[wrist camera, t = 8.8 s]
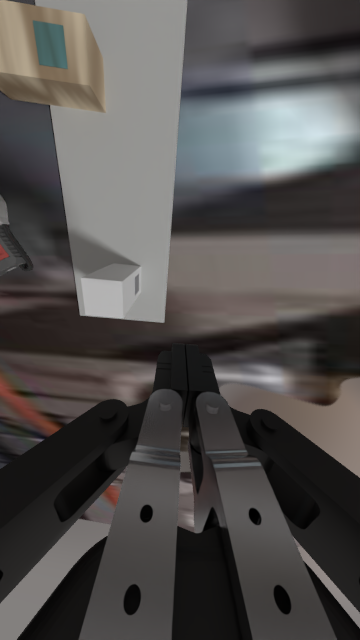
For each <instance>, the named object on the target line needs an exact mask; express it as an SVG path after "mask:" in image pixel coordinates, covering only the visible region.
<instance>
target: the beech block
mask: <svg viewBox="0 0 360 640" xmlns="http://www.w3.org/2000/svg"><path fill="white" fill-rule="evenodd" d="M0 91H2V92H3V93H4V94H5V95H7V96H8V97H9V98H10V99H12V100H19V101H26V102H33V103H40V104H47V105H54V106H61V107H68V108H75V109H82V110H89V111H96V112H102V113H106V104H105V84H104V65H103V57H102V54H101V52H100V49H99V47H98V45H97V42H96V40H95V38H94V35H93V33H92V31H91V28H90V26H89V23H88V21H87V19H86V16H85V14H82V13H76V12H70V11H64V10H58V9H52V8H47V7H41V6H35V5H29V4H23V3H17V2H11V1H6V0H0Z"/></svg>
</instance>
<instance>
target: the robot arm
mask: <svg viewBox="0 0 360 640" xmlns="http://www.w3.org/2000/svg"><path fill="white" fill-rule="evenodd" d="M182 422H183V427H189V439H188V452H189V460H190V468H191V477H192V485H193V493H194V526H195V533H193V532H191V531H188V530H186V529H183V528H181V527H179V526H177V521H178V502H179V482H180V438H181V427H182ZM126 466H127V470H126V473H125V477H124V480H123V484H122V488H121V491H120V495H119V498H118V502H117V505H116V509H115V512H114V516H113V520H112V523H111V527H110V531H109V534H108V536H106V537H105V538H103V539H102V540H100V541H99V542H98V543H96V544H95V545H94V546H93V547H92V548H90V549H89V550H88V551H87V552H86V553H85V554H84V555H83V556H82V557H81V558H80V559H79V560H78V561H77V563H76V564H75V565H74V566H73V567H72V568H71V570H70V571H69V572H68V574H67V575H66V576H65V577H64V579H63V580H62V581H61V583H60V584H59V585H58V586H57V588H56V589H55V590H54V592H53V593H52V594H51V596H50V597H49V598H48V599H47V601H46V602H45V603H44V605H43V606H42V608H41V609H40V610H39V611H38V613H37V614H36V615H35V616H34V618H33V619H32V620H31V622H30V623H29V624H28V626H27V627H26V628H25V629H24V631H23V632H22V634H21V635H20V636H19V637H18V639H17V640H360V628H359V627H358V626H357V625H356V623H355V622H354V621H353V620H352V619H351V617H350V616H349V615H348V614H347V612H346V611H345V610H344V609H343V608H342V606H341V605H340V604H339V602H338V601H337V600H336V599H335V598H334V596H333V595H332V594H331V593H330V591H329V590H328V589H327V588H326V587H325V585H324V584H323V583H322V582H321V580H320V579H319V578H318V577H317V575H316V574H315V573H314V572H313V571H312V569H311V568H310V567H309V566H308V565H307V564H306V563H305V562H304V561H303V559H302V557H301V555H300V552H299V550H298V548H297V545H296V543H295V541H294V538H295V539H296V540H297V541H298V543H299V544H300V545H301V546H302V547H303V548H304V549H305V551H306V552H307V553H308V554H309V555H310V556H311V557H312V559H313V560H314V561H315V562H316V563H317V564H318V565H319V566H320V568H321V569H322V570H323V571H324V572H325V573H326V575H327V576H328V577H329V578H330V579H331V580H332V581H333V583H334V584H335V585H336V586H337V587H338V588H339V589H340V590H341V592H342V593H343V594H344V595H345V596H346V597H347V598H348V600H349V601H350V602H351V603H352V604H353V605H354V607H356V609H357V610H358V611H359V612H360V478H359V477H358V476H357V475H355V474H354V473H353V472H351V471H350V470H348V469H347V468H346V467H345V466H343V465H342V464H341V463H339V462H338V461H337V460H335V459H334V458H333V457H331V456H330V455H329V454H327V453H326V452H325V451H323V450H322V449H321V448H320V447H318V446H317V445H315V444H314V443H313V442H311V441H310V440H309V439H308V438H306V437H305V436H304V435H302V434H301V433H300V432H298V431H297V430H296V429H294V428H293V427H292V426H290V425H289V424H288V423H286V422H285V421H284V420H282V419H281V418H280V417H278V416H277V415H276V414H274V413H272V412H270V411H268V410H264V409H257V410H255V411H253V412H252V413H251V415H249V414H246V413H243V412H240V411H237V410H235V409H233V408H231V407H230V406H229V405H228V403H227V401H226V400H225V399H224V398H223V397H222V396H221V395H220V392H219V388H218V384H217V380H216V377H215V373H214V369H213V366H212V362H211V359H210V358H209V357H208V356H207V355H206V354H199V349H198V345H191V344H178V343H172V351H162V352H161V353H160V355H159V356H158V361H157V368H156V374H155V380H154V387H153V392H152V394H151V396H150V397H149V398H148V399H147V400H146V401H144V402H142V403H140V404H137V405H133V406H128V407H127V406H126V404H125V403H124V402H122V401H120V400H116V399H110V400H106V401H103V402H101V403H99V404H97V405H96V406H94V407H93V408H91V409H90V410H88V411H87V412H85V413H84V414H82V415H81V416H79V417H78V418H76V419H75V420H73V421H72V422H70V423H69V424H67V425H66V426H64V427H63V428H61V429H60V430H58V431H57V432H55V433H54V434H52V435H51V436H49V437H48V438H46V439H45V440H43V441H42V442H40V443H39V444H37V445H36V446H34V447H33V448H31V449H30V450H28V451H27V452H25V453H24V454H22V455H21V456H19V457H18V458H16V459H15V460H13V461H12V462H10V463H9V464H7V465H6V466H4V467H3V468H1V469H0V603H1V602H2V601H3V600H4V598H5V597H6V596H7V595H8V594H9V593H10V592H11V591H12V590H13V589H14V588H15V587H16V585H18V583H19V582H20V581H21V580H22V579H23V578H24V577H25V576H26V575H27V574H28V573H29V571H30V570H31V569H32V568H33V567H34V566H35V565H36V564H37V563H38V562H39V561H40V560H41V559H42V558H43V556H44V555H45V554H46V553H47V552H48V551H49V550H50V549H51V548H52V547H53V546H54V545H55V544H56V542H57V541H58V540H59V539H60V538H61V537H62V536H63V535H64V534H65V533H66V532H67V531H68V530H69V528H70V527H71V526H72V525H73V524H74V523H75V522H76V521H77V520H78V519H79V518H80V517H81V516H82V514H83V513H84V512H85V511H86V510H87V509H88V508H89V507H90V506H91V505H92V504H93V503H94V501H95V500H96V499H97V498H98V497H99V496H100V495H101V494H102V493H103V492H104V491H105V490H106V489H107V487H108V486H109V485H110V484H111V483H112V482H113V481H114V480H115V479H116V478H117V477H118V476H119V475H120V473H121V472H122V471H123V470H124V469H125V467H126ZM293 537H294V538H293Z"/></svg>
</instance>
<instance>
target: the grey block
mask: <svg viewBox="0 0 360 640" xmlns="http://www.w3.org/2000/svg"><path fill="white" fill-rule="evenodd" d="M81 284H82V292H83V300H84V308H85V315H90V316H102V317H113V318H124V317H125V315H126V314H127V312H128V311H129V309H130V308H131V306H132V305H133V303H134V302H135V300H136V299H137V297H138V296H139V294H140V293H141V266H136V265H126V264H116V263H113V264H111V265H109V266H106V267H104V268H102V269H99V270H97V271H95V272H92V273H90V274H88V275H85V276H83V277H81Z"/></svg>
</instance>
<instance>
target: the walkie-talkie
mask: <svg viewBox="0 0 360 640" xmlns="http://www.w3.org/2000/svg"><path fill="white" fill-rule="evenodd" d="M8 224H10V223H9V222H8V214H7V206H6V202H5V201H4V199H3V198H2V196H1V195H0V276H2V275H4V274H6V273H8V272H10V271H12V270H14V269H16V268H18V267H20V268H21V269H22V270H25V271H29V270H32V269H33V264H32V262H31V260H30V259H29V256H27V254H26V252H24V249H23V248H22V247H21V245H19V243H18V241H16V239H15V237H14V236H13V235H12V233H11V232H10V229H9V227H8ZM26 263H27V265H28V268H27V267H26V266H25V265H24V264H26Z"/></svg>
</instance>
